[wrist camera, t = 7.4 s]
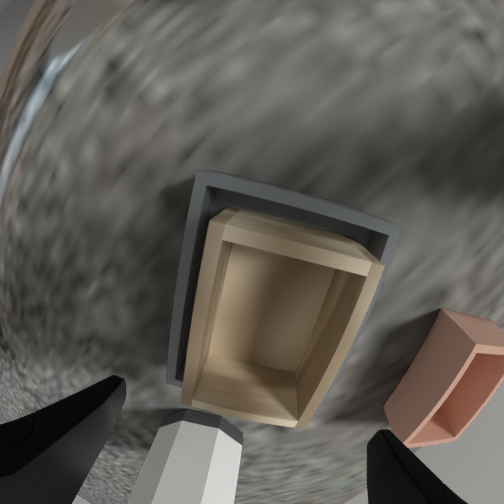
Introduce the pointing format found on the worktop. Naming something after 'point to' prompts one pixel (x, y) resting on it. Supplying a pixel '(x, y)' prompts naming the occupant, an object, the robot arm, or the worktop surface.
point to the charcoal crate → (272, 203)
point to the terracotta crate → (447, 380)
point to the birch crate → (273, 316)
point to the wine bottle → (191, 462)
